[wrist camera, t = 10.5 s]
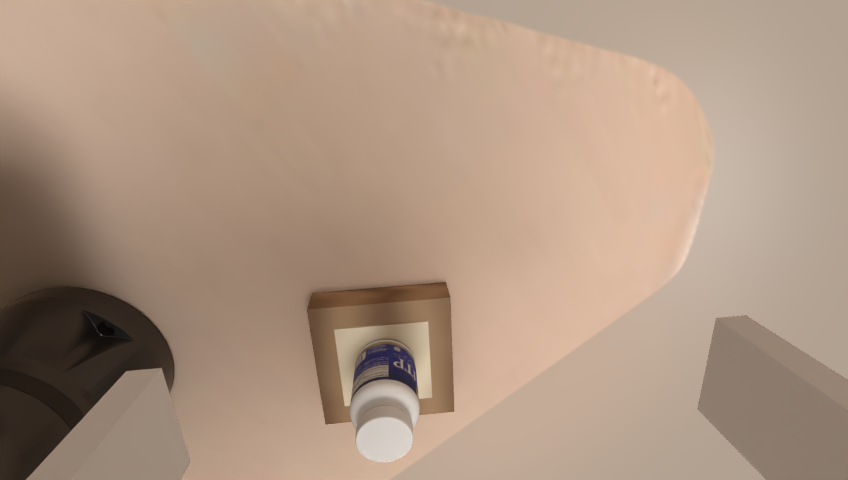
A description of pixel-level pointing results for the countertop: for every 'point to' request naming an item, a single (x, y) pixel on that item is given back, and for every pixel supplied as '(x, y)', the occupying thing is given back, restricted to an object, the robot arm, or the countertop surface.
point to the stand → (382, 320)
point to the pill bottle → (384, 400)
